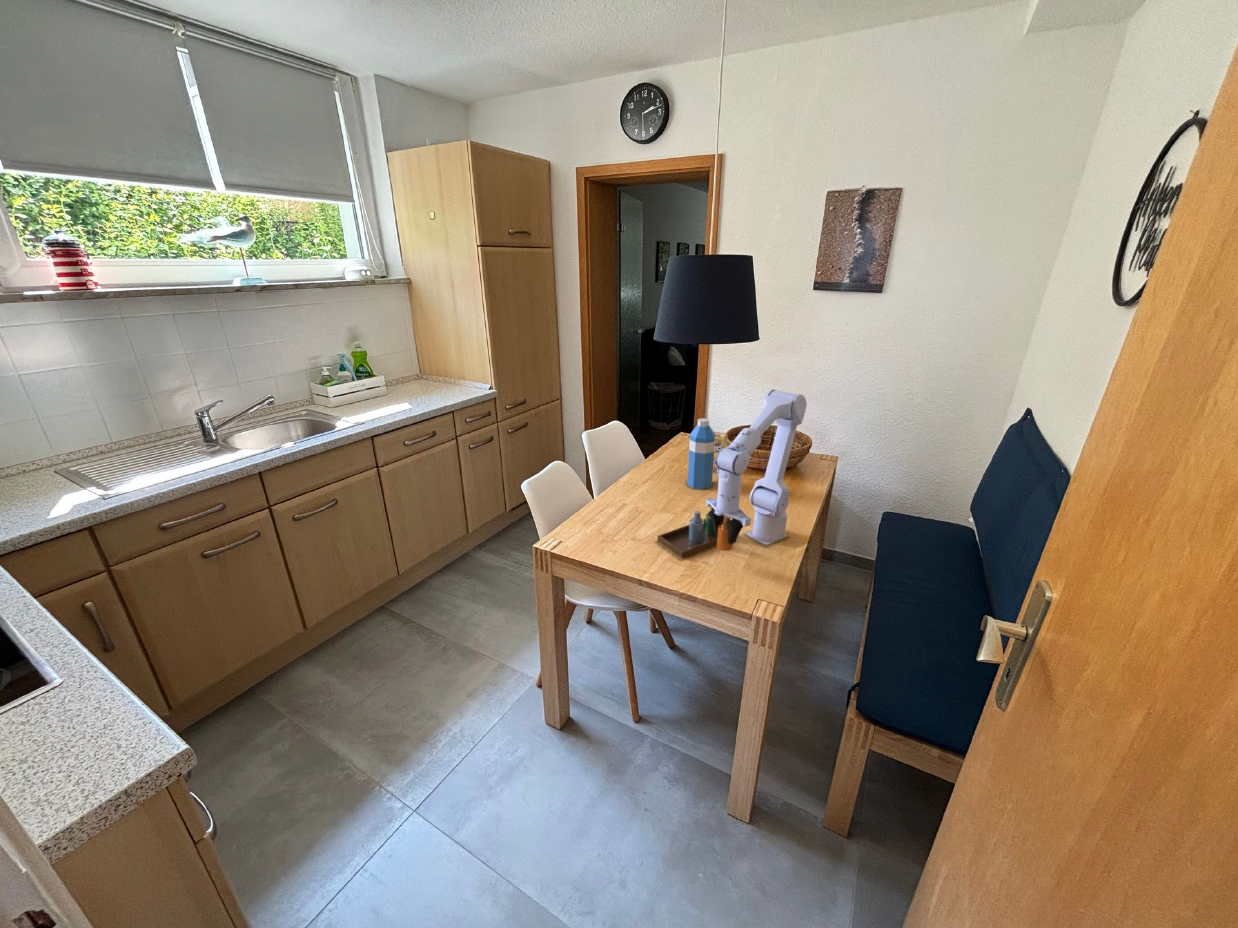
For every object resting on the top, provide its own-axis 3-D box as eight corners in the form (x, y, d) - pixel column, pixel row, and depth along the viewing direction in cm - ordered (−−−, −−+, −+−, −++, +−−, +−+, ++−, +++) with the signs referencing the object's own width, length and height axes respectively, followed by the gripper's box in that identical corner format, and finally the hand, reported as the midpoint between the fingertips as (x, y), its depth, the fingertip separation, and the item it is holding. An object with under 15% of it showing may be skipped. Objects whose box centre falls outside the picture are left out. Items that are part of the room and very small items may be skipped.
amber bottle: (724, 540, 138) (727, 511, 135) (736, 547, 135) (739, 518, 131) (713, 545, 136) (715, 516, 132) (724, 552, 132) (727, 522, 129)
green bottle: (712, 528, 154) (714, 501, 151) (722, 533, 151) (724, 507, 147) (701, 532, 152) (703, 505, 148) (711, 538, 148) (713, 511, 145)
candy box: (700, 469, 199) (702, 433, 194) (703, 465, 203) (705, 430, 197) (721, 473, 195) (724, 436, 190) (724, 469, 199) (727, 433, 193)
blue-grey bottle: (696, 533, 151) (698, 507, 147) (706, 540, 147) (708, 513, 144) (685, 538, 148) (686, 511, 145) (695, 544, 145) (696, 517, 142)
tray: (708, 523, 157) (708, 517, 157) (733, 538, 149) (734, 532, 148) (657, 542, 147) (657, 535, 146) (682, 559, 138) (682, 552, 138)
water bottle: (695, 477, 192) (698, 414, 183) (717, 483, 186) (721, 419, 177) (682, 485, 185) (685, 420, 176) (704, 491, 180) (708, 425, 170)
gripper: (698, 487, 133) (696, 531, 138) (738, 507, 122) (734, 555, 127) (717, 481, 136) (714, 524, 142) (758, 500, 125) (753, 547, 130)
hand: (725, 538), depth 134 cm, fingers closed on amber bottle, 4 cm apart
